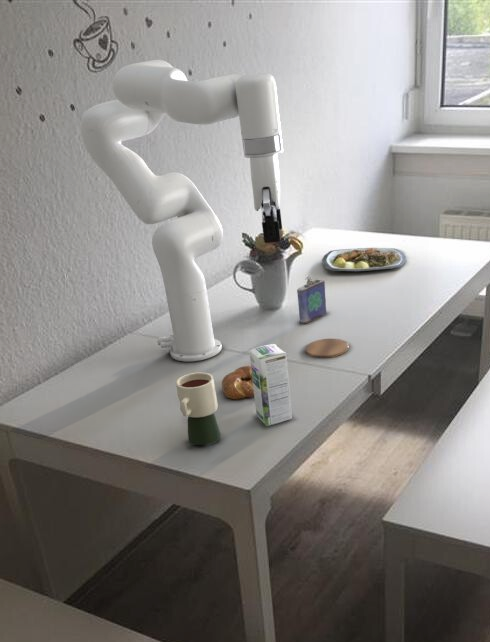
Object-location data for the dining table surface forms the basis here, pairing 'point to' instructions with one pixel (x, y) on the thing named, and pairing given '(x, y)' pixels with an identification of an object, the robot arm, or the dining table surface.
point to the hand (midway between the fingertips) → (273, 235)
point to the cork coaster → (327, 348)
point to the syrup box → (270, 384)
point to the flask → (311, 300)
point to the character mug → (199, 407)
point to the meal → (363, 259)
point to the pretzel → (239, 383)
